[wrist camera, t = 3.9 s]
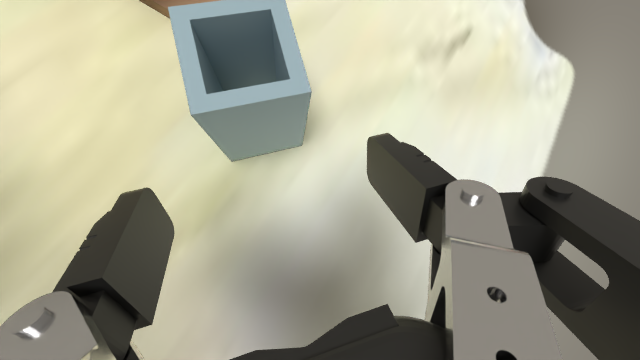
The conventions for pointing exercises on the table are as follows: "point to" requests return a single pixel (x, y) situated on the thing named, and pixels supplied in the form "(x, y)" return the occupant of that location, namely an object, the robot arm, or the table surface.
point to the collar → (243, 74)
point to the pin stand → (170, 4)
